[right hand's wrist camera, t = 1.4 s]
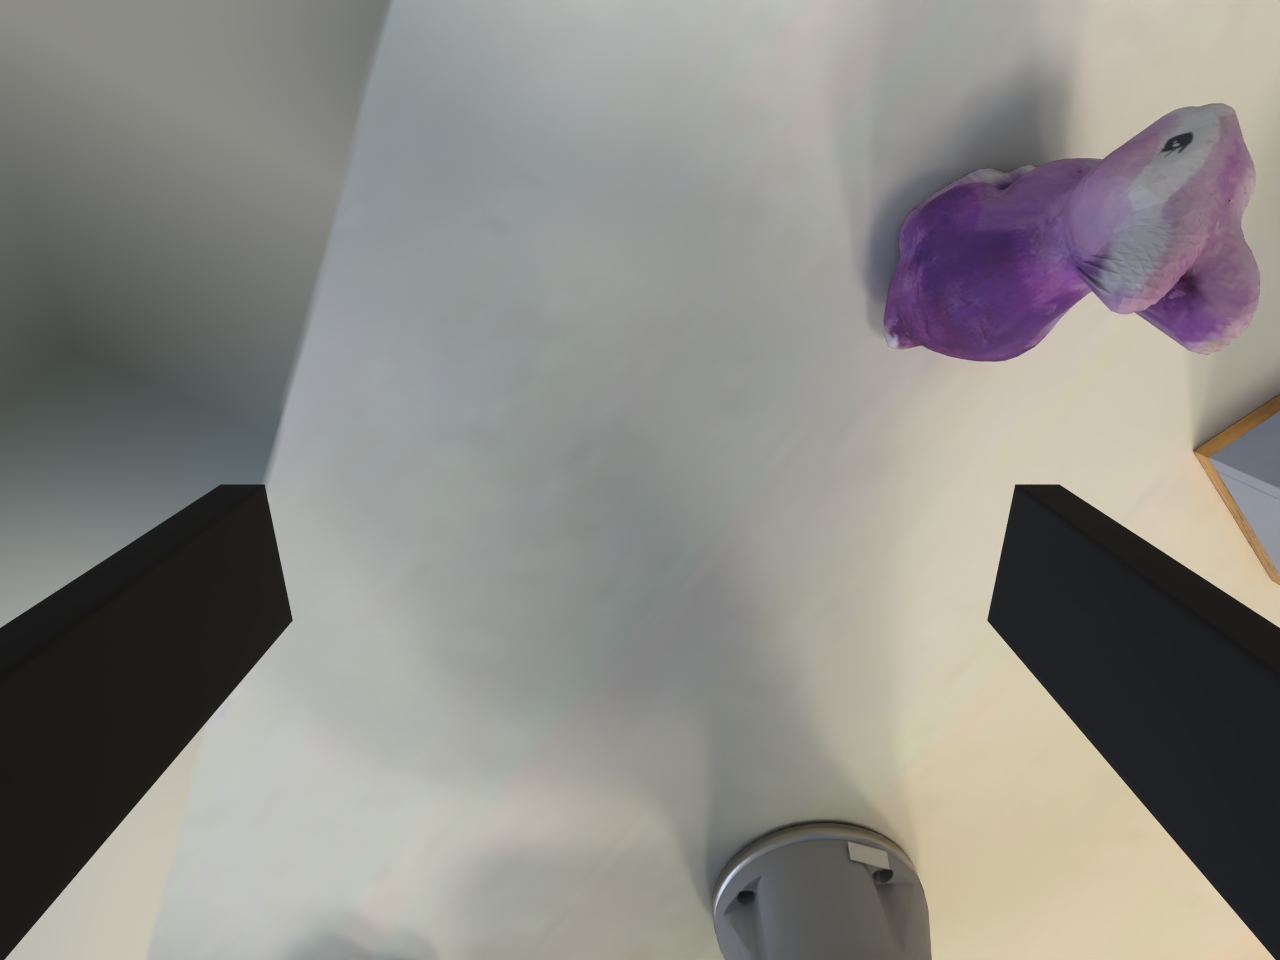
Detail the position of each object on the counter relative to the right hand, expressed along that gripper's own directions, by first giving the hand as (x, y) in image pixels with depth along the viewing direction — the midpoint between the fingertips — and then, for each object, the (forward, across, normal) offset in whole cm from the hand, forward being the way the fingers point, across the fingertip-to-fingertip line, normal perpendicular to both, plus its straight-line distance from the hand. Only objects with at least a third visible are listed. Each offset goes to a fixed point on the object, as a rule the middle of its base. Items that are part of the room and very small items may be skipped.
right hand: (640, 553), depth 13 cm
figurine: (+26, -17, -4) cm, 31 cm away
